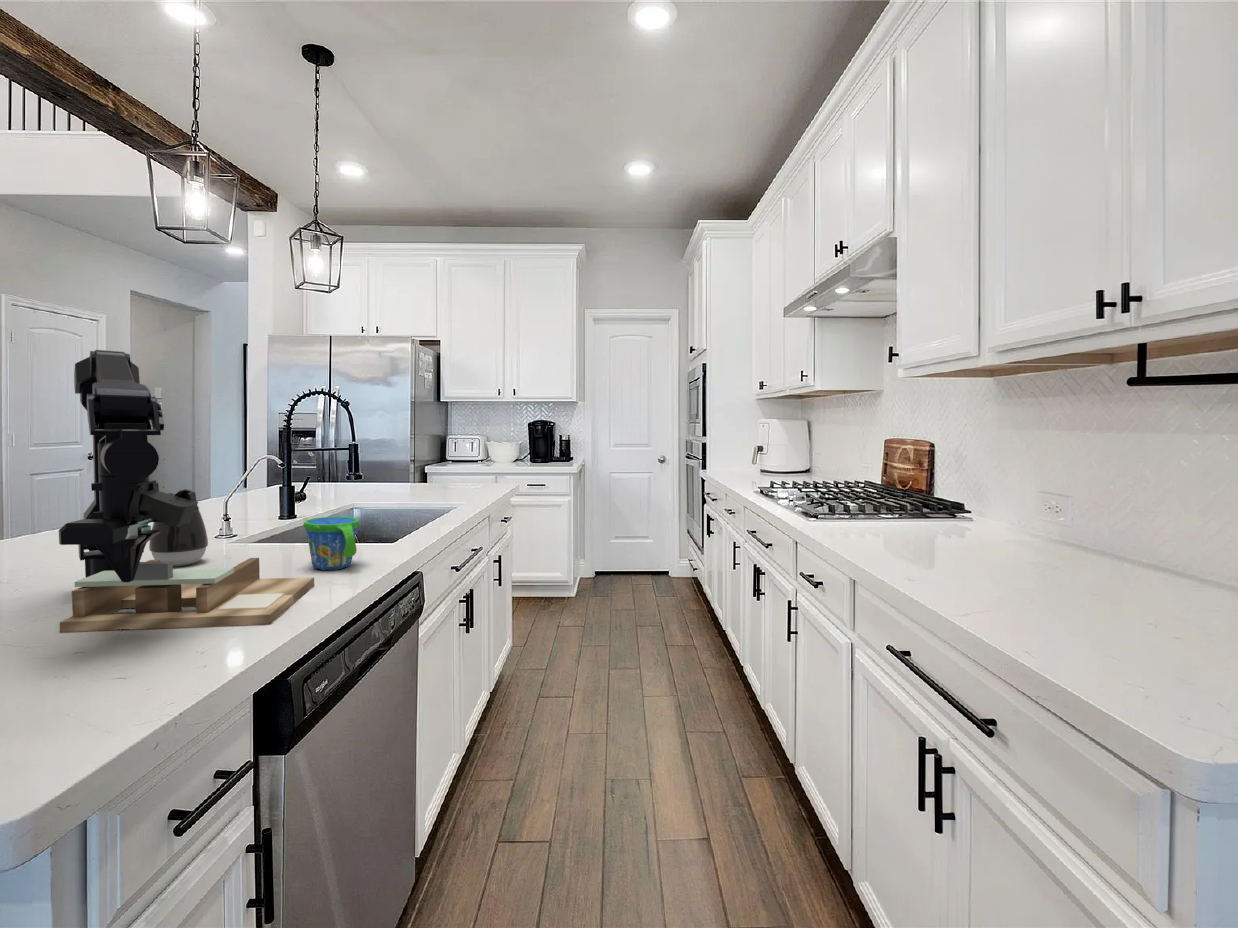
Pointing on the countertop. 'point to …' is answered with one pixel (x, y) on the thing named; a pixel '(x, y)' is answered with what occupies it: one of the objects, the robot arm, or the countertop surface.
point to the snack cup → (331, 541)
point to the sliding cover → (157, 576)
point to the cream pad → (251, 602)
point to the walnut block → (158, 598)
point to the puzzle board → (186, 603)
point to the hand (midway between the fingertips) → (127, 581)
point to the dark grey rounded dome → (180, 541)
